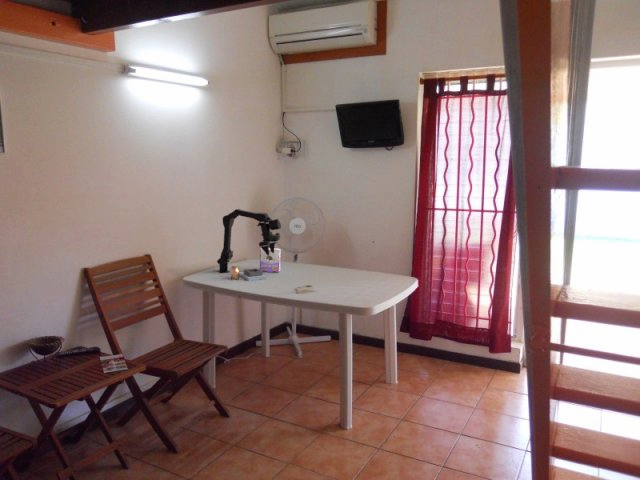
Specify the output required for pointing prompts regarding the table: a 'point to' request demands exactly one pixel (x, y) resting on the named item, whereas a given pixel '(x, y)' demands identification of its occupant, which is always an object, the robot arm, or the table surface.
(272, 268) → the candy box
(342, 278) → the table surface
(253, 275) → the grey square socket base
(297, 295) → the table surface
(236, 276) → the copper canister
